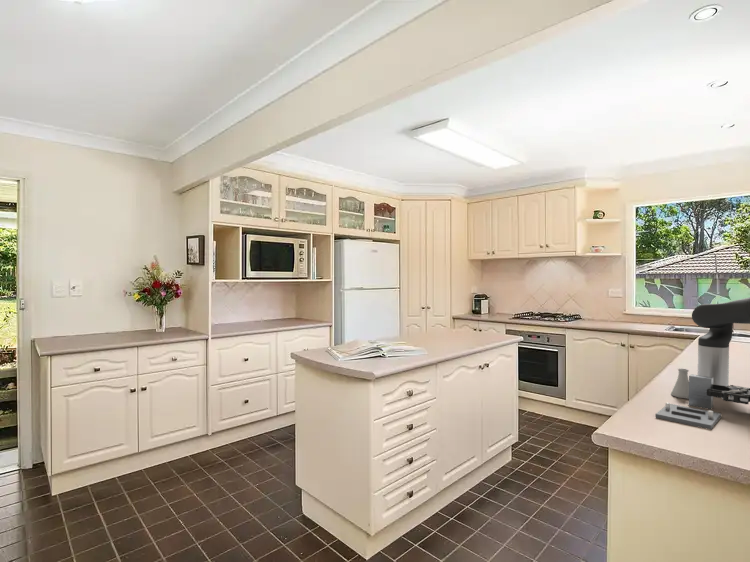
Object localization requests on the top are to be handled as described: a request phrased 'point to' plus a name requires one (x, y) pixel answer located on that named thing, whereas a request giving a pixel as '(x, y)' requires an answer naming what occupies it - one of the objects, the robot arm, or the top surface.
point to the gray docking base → (689, 415)
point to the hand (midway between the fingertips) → (709, 389)
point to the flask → (681, 384)
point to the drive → (700, 391)
